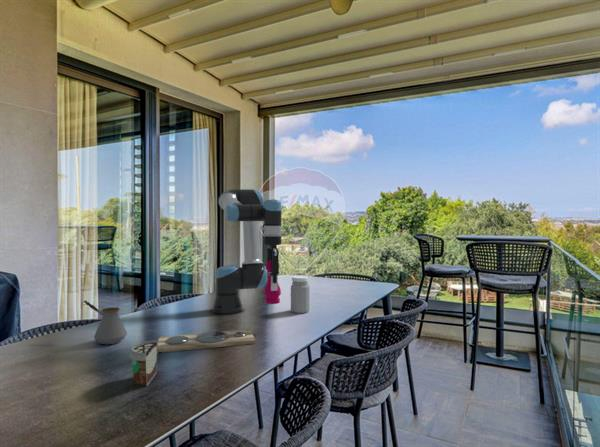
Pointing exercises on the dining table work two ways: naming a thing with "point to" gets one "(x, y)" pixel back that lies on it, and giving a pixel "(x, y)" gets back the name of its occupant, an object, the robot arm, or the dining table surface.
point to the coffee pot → (109, 326)
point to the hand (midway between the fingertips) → (272, 288)
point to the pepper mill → (271, 295)
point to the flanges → (216, 336)
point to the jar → (300, 294)
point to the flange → (177, 340)
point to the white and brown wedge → (144, 362)
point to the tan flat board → (194, 344)
